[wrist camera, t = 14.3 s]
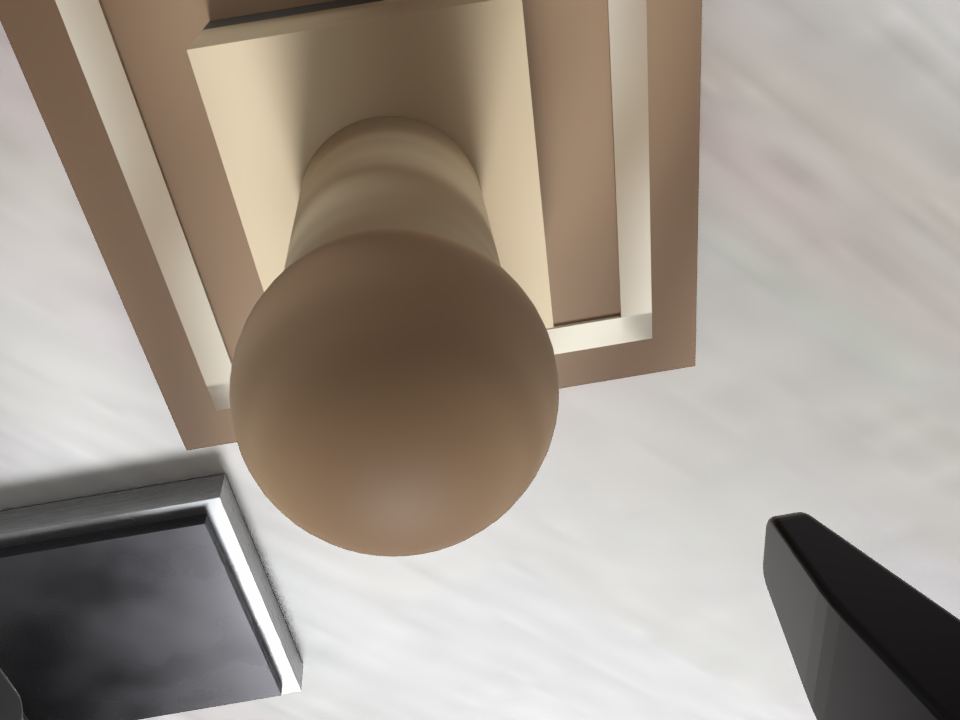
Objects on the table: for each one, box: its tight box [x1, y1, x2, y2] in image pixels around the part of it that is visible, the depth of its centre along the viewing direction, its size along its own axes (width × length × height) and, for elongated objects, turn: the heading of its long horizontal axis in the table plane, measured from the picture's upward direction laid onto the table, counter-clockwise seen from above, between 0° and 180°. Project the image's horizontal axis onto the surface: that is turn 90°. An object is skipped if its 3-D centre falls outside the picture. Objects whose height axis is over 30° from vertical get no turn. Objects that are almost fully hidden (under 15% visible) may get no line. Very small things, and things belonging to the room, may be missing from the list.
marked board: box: [0, 0, 702, 450], centre depth 19 cm, size 14×14×1 cm
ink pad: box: [0, 474, 303, 720], centre depth 26 cm, size 9×9×1 cm
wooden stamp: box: [187, 0, 559, 556], centre depth 14 cm, size 6×7×11 cm
